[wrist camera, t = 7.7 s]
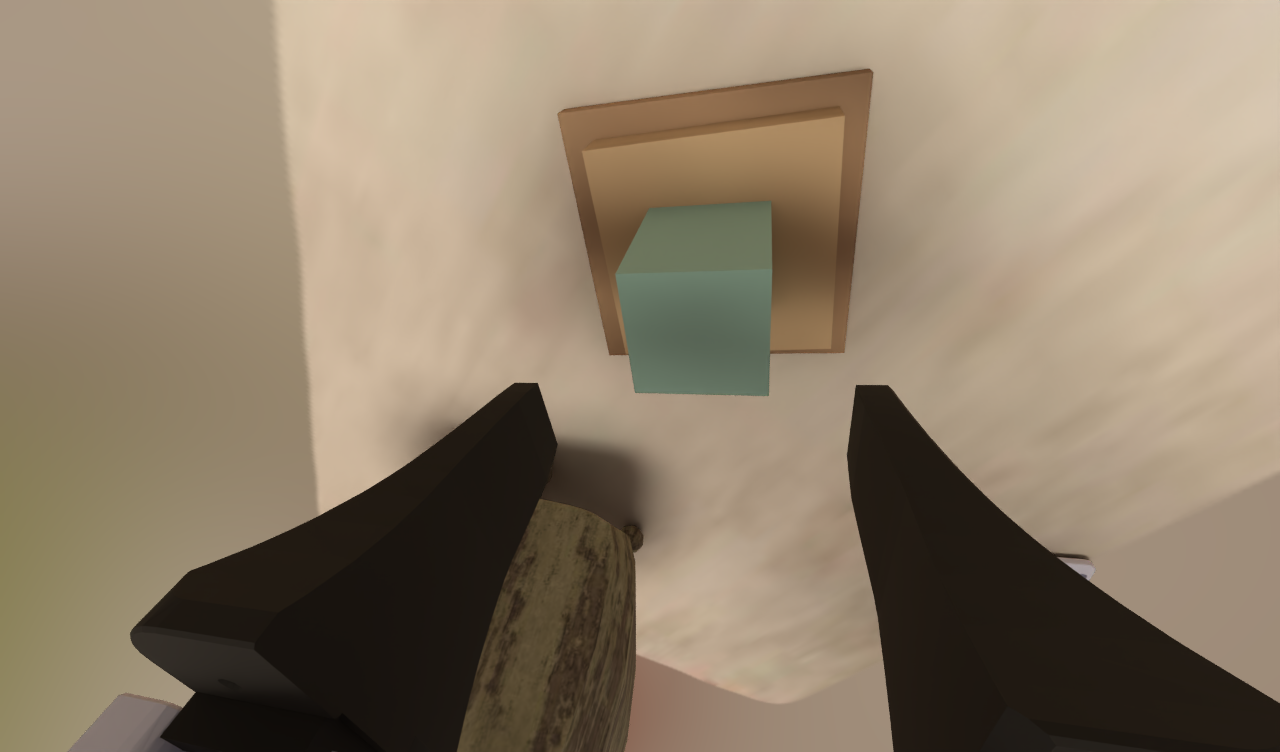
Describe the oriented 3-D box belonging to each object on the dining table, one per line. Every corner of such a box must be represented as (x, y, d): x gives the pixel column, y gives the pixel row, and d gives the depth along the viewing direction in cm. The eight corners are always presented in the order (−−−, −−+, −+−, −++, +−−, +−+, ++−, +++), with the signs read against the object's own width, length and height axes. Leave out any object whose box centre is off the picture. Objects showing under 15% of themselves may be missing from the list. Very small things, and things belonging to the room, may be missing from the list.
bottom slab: (840, 333, 22) (844, 352, 21) (617, 337, 25) (609, 355, 23) (865, 65, 16) (873, 72, 15) (570, 105, 19) (557, 113, 18)
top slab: (827, 327, 20) (830, 348, 19) (633, 335, 23) (625, 354, 21) (839, 105, 16) (844, 115, 15) (593, 139, 18) (581, 151, 17)
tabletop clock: (452, 512, 35) (61, 1172, 16) (418, 412, 30) (-252, 1241, 10) (662, 548, 33) (509, 1369, 13) (667, 448, 27) (421, 1593, 8)
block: (768, 309, 19) (768, 396, 15) (661, 311, 20) (635, 392, 16) (771, 200, 17) (772, 269, 13) (649, 208, 17) (614, 274, 14)
